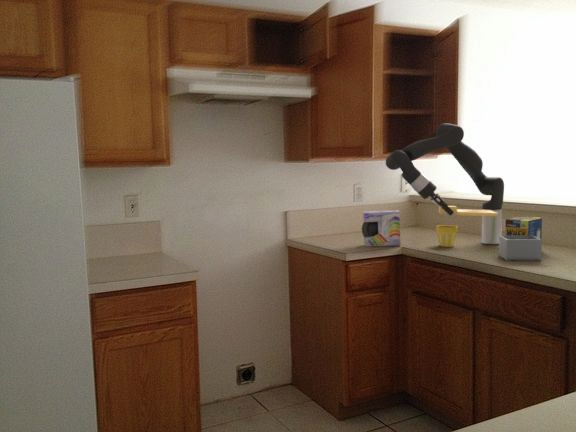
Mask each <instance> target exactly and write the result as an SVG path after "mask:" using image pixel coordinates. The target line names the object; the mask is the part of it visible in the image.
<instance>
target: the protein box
mask: <svg viewBox="0 0 576 432" xmlns="http://www.w3.org/2000/svg"><path fill="white" fill-rule="evenodd" d="M542 225H543V218H542V217H535V216H524V215H523V216H522V215H519V216H515V217H509V218H505V227H504V228H505V229H504V230H505V232H504V236H521V235H533V236H535V237H537V238H539V239H542V232H543V231H542V230H543V228H542V227H543V226H542Z"/></svg>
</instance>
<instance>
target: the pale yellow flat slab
mask: <svg viewBox="0 0 576 432" xmlns="http://www.w3.org/2000/svg"><path fill="white" fill-rule="evenodd" d="M448 207H449V208H450V209H451V210H452V211H453V212H454V213H453V214H452V215H454V214H455V215H458V216H479V217H482V216H498V213H496V212H494V211H491V210H482V209H465V208H462V209H461V208H458V207H457V206H456V205H448ZM438 213H439V214H447V215H449V214H448V213H447V212H446V211H445V210H443V209H442V208H441V207H439V206H438Z"/></svg>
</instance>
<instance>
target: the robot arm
mask: <svg viewBox="0 0 576 432" xmlns="http://www.w3.org/2000/svg"><path fill="white" fill-rule="evenodd" d="M464 135H465V131H464V128H462V127H461V126H460V125H457V124H454V123H446V122H445V123H444V122H443V123H441V124H439V125H438V126H437V128H436V130H435V137H430V138H425V139H421V140H417V141H415V142H413V143H410V144H409V145H407V146H405V147H403V149H396V150H394V151H392V152H391V154H389V155H388V156H387V157H386V159H385V166H386V167H387V168H388V169H389V170H392V171H395V170H398V169H400V170H401V171H402V173H401V176H402V179H403V180H405V182H407V183H408V185H410V186H411V188H412V189H413V190H414V191H415V192H416V193H417V194H418V195H419V196H420V197H421V198H422V199H424V200H426V199H428V198H430V201H431V202H432V203H433V204H435V205H436V206H438V208H439V207H441V208H442V209H443V210H445V211H446V212H447V213H448V214H447V213H446V214H447V215H448V216H452V215H454V214H453V213H454V212H453V211H452V210H451V209H450V208H449V207H448V206H449V205H448V203H446V202H445V200H444V199H443V198H442V197H441V195H440V194H439V193H435V192H436V190H437V186H436V185H435V184H434V183H433V182H432V181H431V180H430V179H429V178H428V177H427V176H425V174H423V173H422V172H421V171H420V170H419V169H417V167H416V166H415V165H414V164H413V161H415V160H419V158H422V157H424V156H426V155H429V154H431V153H433V152H436V151H439V150H442V149H445V148H446V149H447V150H448V151H449V152H450V154H451V155H452V156H453V158H455V160H456V161H457V162H458V164H459V165H460V167H461V168H462V169H463V170H464V172H466V174H467V175H468V176H469V177H470V179H471V180H472V182H473V183H474V184H475V186H476V188H477V190H478V191H479V192H480V193H481V194H482V195H484V196H491V197H490V199H489V200H488V201H485V202H483V203H482V205H481V210H491V211H494V212H496V213H498V216H481V243H482V244H485V245H499V236H502V232H503V231H502V228H503V227H502V226H503V225H502V224H503V223H502V222H503V217H502V216H503V211H502V210H503V205H504V195H505V194H504V193H505V182H504V180H503V178H502V177H500V176H488V175H485V174H484V172H483V171H482V170H483V166H484V163H483V160H482V158H481V156H480V155H479V154H478V152H476V150H474V149H473V148H472V147H471V146H469V145H467V144H466V143H465V142H463V139H464V137H465V136H464Z"/></svg>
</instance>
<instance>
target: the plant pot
mask: <svg viewBox="0 0 576 432" xmlns="http://www.w3.org/2000/svg"><path fill="white" fill-rule="evenodd" d="M458 230H459V226H458V225H448V224H445V225H444V224H441V225H436V226H435V233H436V234H437V239H438V243H439V246H440V247H443V248H444V247H447V248H448V247H449V248H450V247H451V248H452V247H454V246H455V240H456V237H457V234H458Z"/></svg>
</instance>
